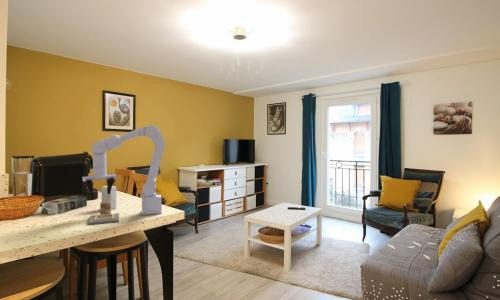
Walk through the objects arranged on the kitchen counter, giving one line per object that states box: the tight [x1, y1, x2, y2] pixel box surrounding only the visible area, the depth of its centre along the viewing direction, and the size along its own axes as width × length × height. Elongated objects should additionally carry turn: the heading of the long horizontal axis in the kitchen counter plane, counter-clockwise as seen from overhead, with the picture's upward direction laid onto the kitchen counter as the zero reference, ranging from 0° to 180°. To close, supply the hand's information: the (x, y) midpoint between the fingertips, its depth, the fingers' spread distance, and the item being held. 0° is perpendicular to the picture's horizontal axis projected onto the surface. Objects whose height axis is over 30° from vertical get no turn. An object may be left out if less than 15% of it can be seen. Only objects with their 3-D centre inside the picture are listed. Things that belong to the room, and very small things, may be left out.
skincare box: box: [101, 185, 117, 211], centre depth 150 cm, size 6×4×12 cm
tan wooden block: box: [99, 201, 112, 215], centre depth 139 cm, size 4×4×6 cm
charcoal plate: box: [87, 212, 120, 226], centre depth 130 cm, size 12×12×2 cm
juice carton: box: [40, 195, 88, 215], centre depth 148 cm, size 20×10×6 cm, turn 168°
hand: (100, 194), depth 137 cm, fingers open, 7 cm apart
